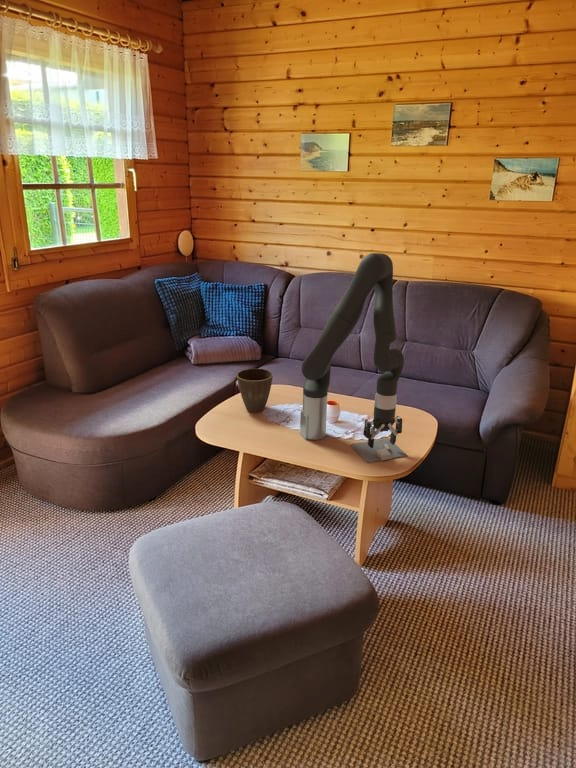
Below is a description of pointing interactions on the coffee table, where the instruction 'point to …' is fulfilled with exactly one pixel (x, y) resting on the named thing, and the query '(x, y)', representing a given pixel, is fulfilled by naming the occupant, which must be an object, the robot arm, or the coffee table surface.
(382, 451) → the lighter
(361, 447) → the mat
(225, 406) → the coffee table surface
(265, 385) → the plant pot
